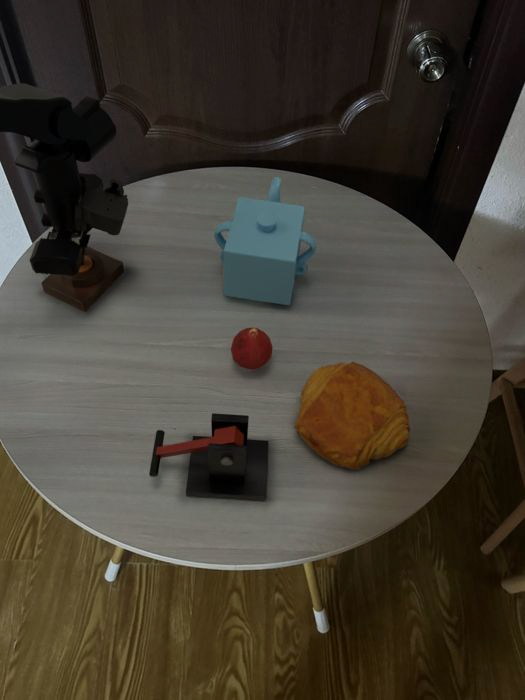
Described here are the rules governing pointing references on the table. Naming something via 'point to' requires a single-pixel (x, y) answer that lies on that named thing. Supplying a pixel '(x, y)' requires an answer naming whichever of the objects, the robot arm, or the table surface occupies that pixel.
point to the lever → (192, 445)
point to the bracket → (229, 465)
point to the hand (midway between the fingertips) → (80, 263)
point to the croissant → (351, 415)
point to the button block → (85, 281)
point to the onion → (251, 348)
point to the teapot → (264, 248)
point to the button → (86, 265)
